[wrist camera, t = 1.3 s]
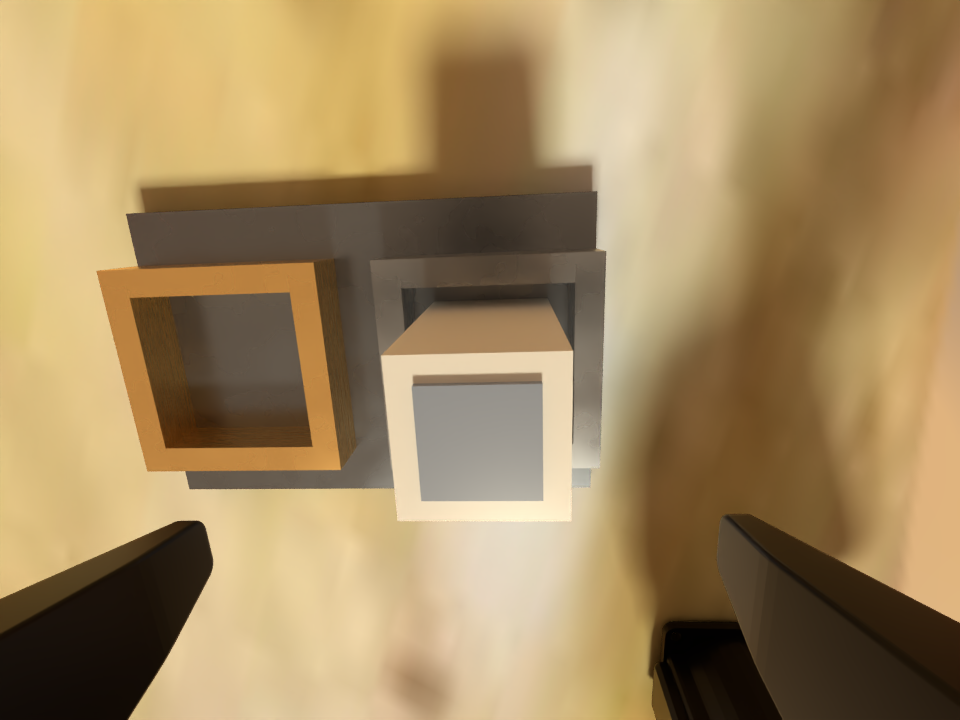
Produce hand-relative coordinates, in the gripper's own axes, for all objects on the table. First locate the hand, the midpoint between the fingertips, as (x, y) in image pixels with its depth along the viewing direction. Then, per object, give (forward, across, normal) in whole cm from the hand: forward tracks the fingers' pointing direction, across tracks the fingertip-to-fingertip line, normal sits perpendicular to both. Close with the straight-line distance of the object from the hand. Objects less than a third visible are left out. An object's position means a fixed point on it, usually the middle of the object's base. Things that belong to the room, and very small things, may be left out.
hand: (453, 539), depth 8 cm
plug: (+12, 0, 0) cm, 12 cm away
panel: (+12, +5, 0) cm, 13 cm away
